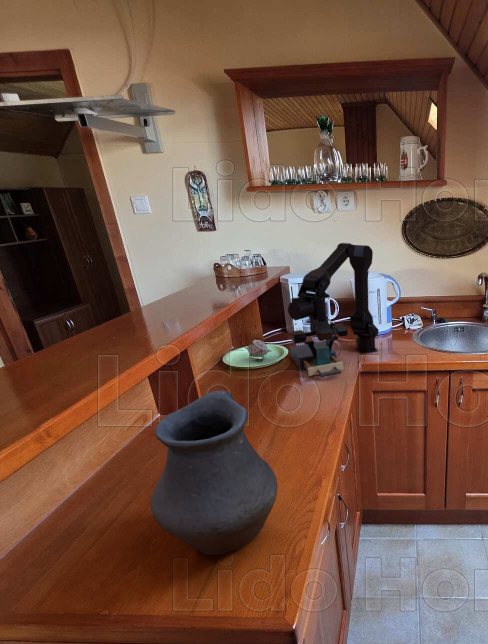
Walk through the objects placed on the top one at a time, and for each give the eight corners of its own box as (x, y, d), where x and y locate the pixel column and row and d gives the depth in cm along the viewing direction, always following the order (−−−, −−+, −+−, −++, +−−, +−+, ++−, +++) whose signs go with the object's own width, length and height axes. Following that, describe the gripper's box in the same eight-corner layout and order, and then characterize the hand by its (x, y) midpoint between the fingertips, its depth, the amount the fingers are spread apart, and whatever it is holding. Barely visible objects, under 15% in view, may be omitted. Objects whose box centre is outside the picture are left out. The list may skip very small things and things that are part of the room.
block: (326, 362, 149) (325, 343, 147) (330, 366, 146) (329, 347, 143) (314, 364, 148) (312, 345, 145) (318, 368, 144) (316, 349, 141)
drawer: (348, 374, 142) (348, 367, 141) (313, 381, 137) (312, 373, 136) (332, 358, 156) (331, 351, 155) (299, 364, 151) (298, 357, 150)
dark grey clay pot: (143, 583, 67) (96, 451, 57) (193, 495, 87) (164, 385, 77) (273, 575, 68) (249, 443, 58) (292, 489, 88) (277, 380, 77)
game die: (266, 367, 162) (279, 347, 159) (250, 367, 154) (264, 345, 151) (251, 352, 164) (264, 332, 162) (236, 352, 157) (249, 330, 154)
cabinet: (336, 363, 154) (335, 351, 152) (300, 369, 149) (299, 358, 147) (325, 351, 165) (324, 341, 164) (291, 357, 160) (289, 346, 158)
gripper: (296, 322, 129) (301, 369, 135) (352, 314, 136) (355, 359, 142) (287, 314, 138) (292, 359, 145) (341, 307, 145) (343, 350, 152)
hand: (321, 357), depth 146 cm, fingers closed on block, 4 cm apart
